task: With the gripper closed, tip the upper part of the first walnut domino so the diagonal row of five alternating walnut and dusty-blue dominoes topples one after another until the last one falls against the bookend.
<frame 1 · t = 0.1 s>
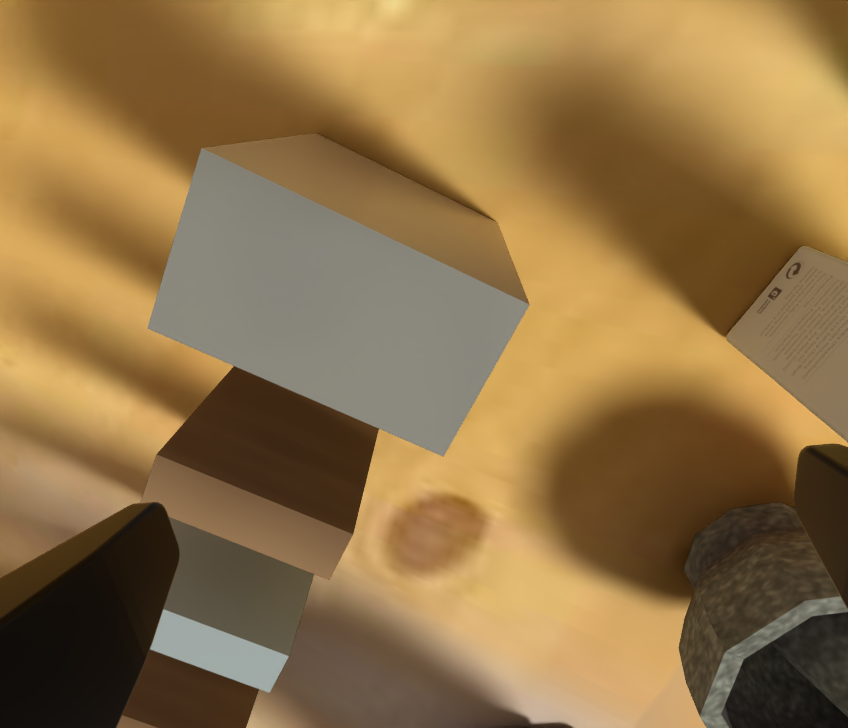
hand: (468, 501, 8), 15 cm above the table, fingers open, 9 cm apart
mortar and pestle: (767, 562, 27), on the table
domino 4: (288, 452, 25), on the table
bookend: (385, 230, 22), on the table
skincare box: (818, 329, 22), on the table
domino 3: (253, 530, 27), on the table
domino 5: (327, 362, 24), on the table
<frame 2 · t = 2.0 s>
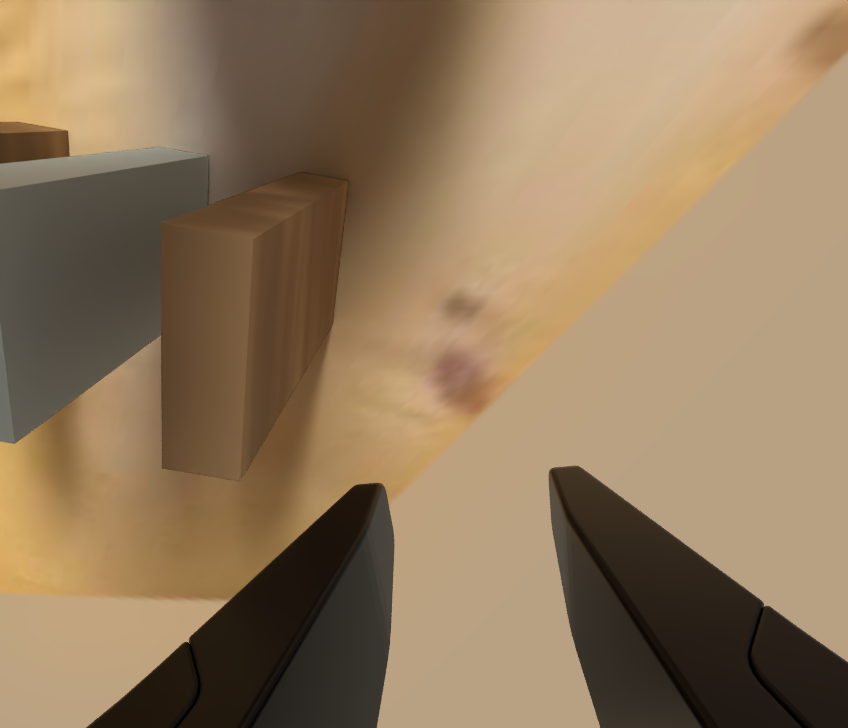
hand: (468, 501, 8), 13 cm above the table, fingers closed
domino 1: (317, 251, 20), on the table
domino 3: (48, 204, 20), on the table
domino 2: (183, 228, 20), on the table
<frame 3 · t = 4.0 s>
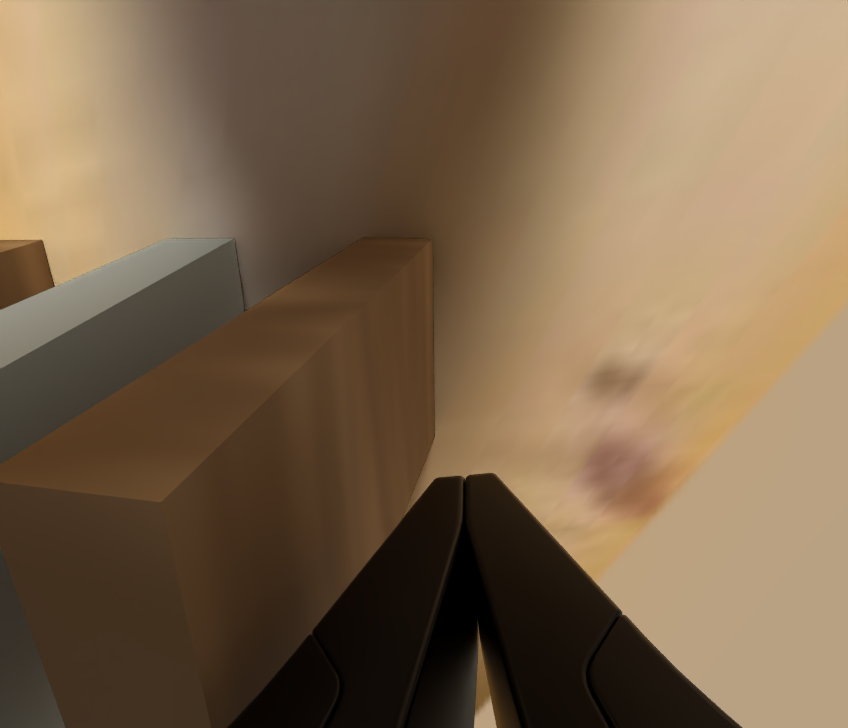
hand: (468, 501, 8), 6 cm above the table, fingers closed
domino 1: (401, 341, 14), on the table, tilted 9°
domino 3: (37, 339, 15), on the table
domino 2: (216, 339, 15), on the table
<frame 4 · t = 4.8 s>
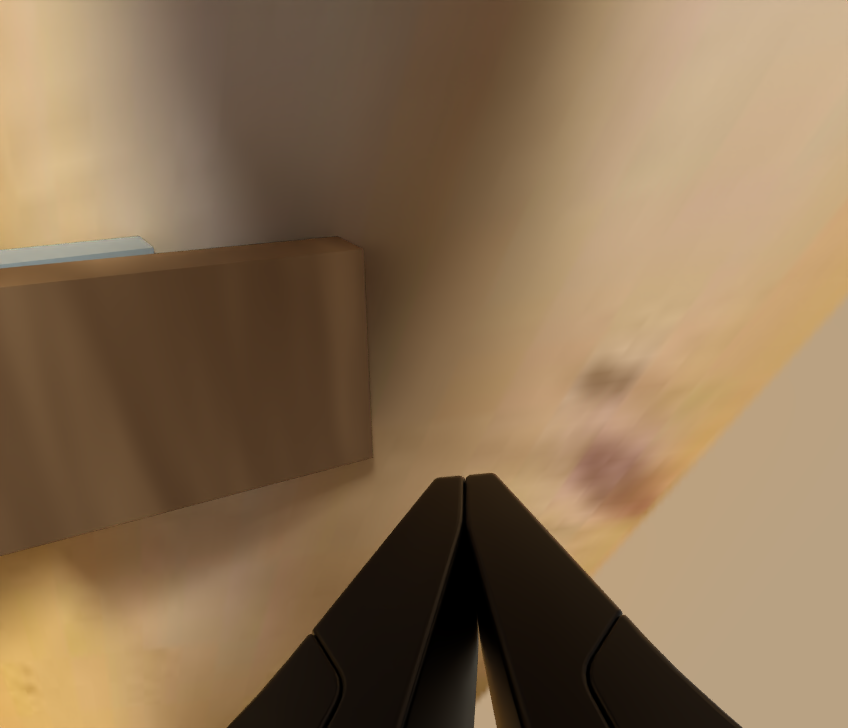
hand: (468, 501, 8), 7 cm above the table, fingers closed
domino 1: (355, 349, 14), point 1 cm above the table, tilted 60°, touching domino 2
domino 2: (165, 346, 14), point 1 cm above the table, tilted 54°, touching domino 1, domino 3
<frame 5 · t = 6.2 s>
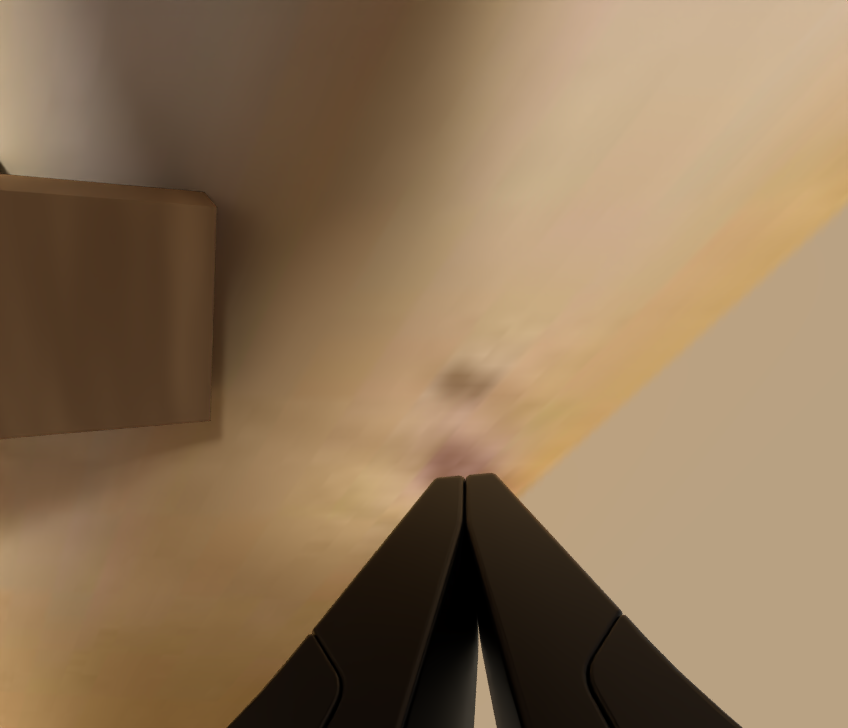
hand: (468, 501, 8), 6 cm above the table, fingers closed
domino 1: (207, 309, 14), point 1 cm above the table, tilted 60°, touching domino 2
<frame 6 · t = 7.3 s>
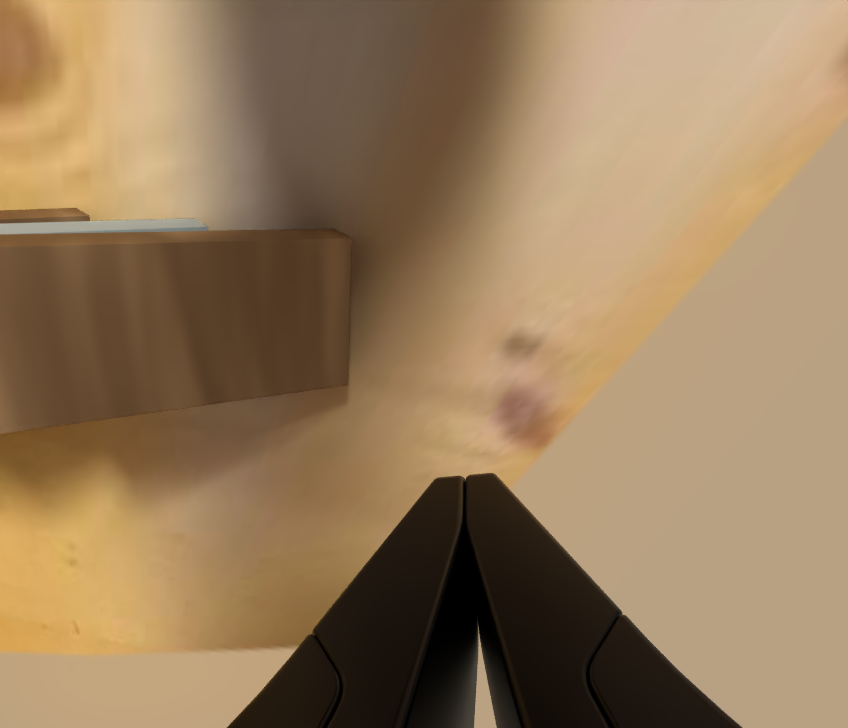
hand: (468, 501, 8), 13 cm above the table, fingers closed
domino 1: (341, 308, 20), point 1 cm above the table, tilted 60°, touching domino 2
domino 3: (93, 286, 20), point 1 cm above the table, tilted 46°, touching domino 2, domino 4
domino 2: (206, 296, 20), point 1 cm above the table, tilted 53°, touching domino 1, domino 3
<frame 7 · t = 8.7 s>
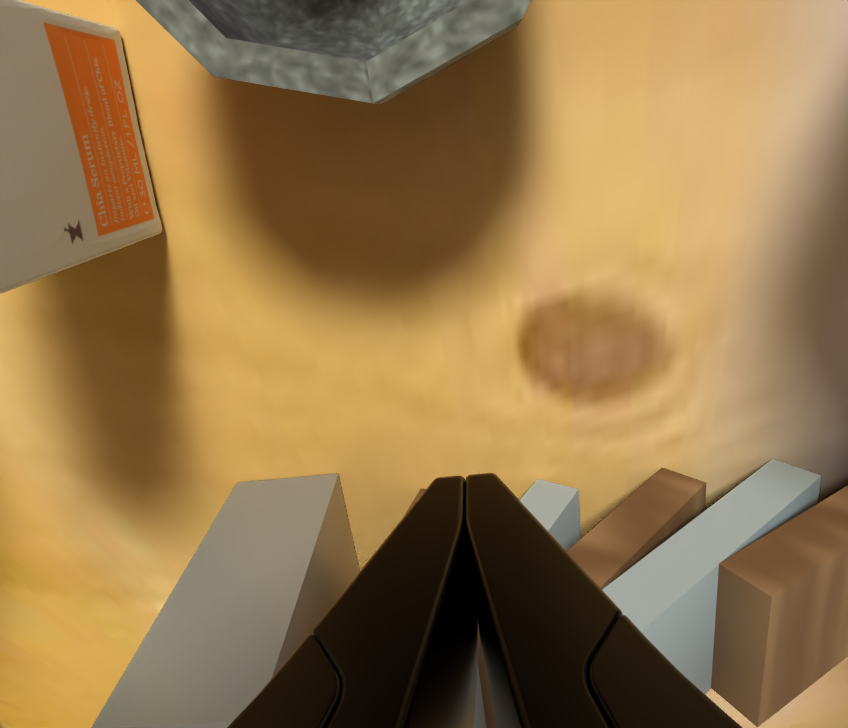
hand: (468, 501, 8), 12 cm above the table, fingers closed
domino 4: (560, 539, 23), on the table, tilted 33°, touching domino 3, domino 5
bookend: (306, 551, 24), on the table
skincare box: (85, 137, 19), on the table
domino 3: (681, 532, 22), point 1 cm above the table, tilted 45°, touching domino 2, domino 4
domino 2: (789, 525, 22), point 1 cm above the table, tilted 52°, touching domino 1, domino 3
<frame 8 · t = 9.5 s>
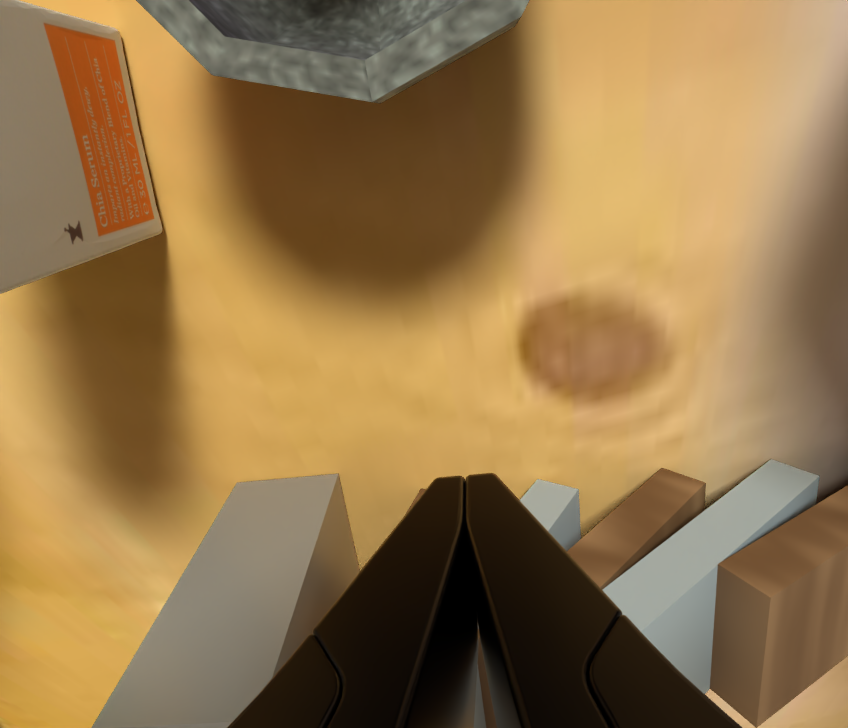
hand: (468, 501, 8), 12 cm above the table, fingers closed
domino 4: (560, 539, 23), on the table, tilted 33°, touching domino 3, domino 5
bookend: (306, 551, 24), on the table
skincare box: (85, 137, 19), on the table
domino 3: (681, 532, 22), point 1 cm above the table, tilted 45°, touching domino 2, domino 4
domino 2: (787, 525, 22), point 1 cm above the table, tilted 52°, touching domino 1, domino 3
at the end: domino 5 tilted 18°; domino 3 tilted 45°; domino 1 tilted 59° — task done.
